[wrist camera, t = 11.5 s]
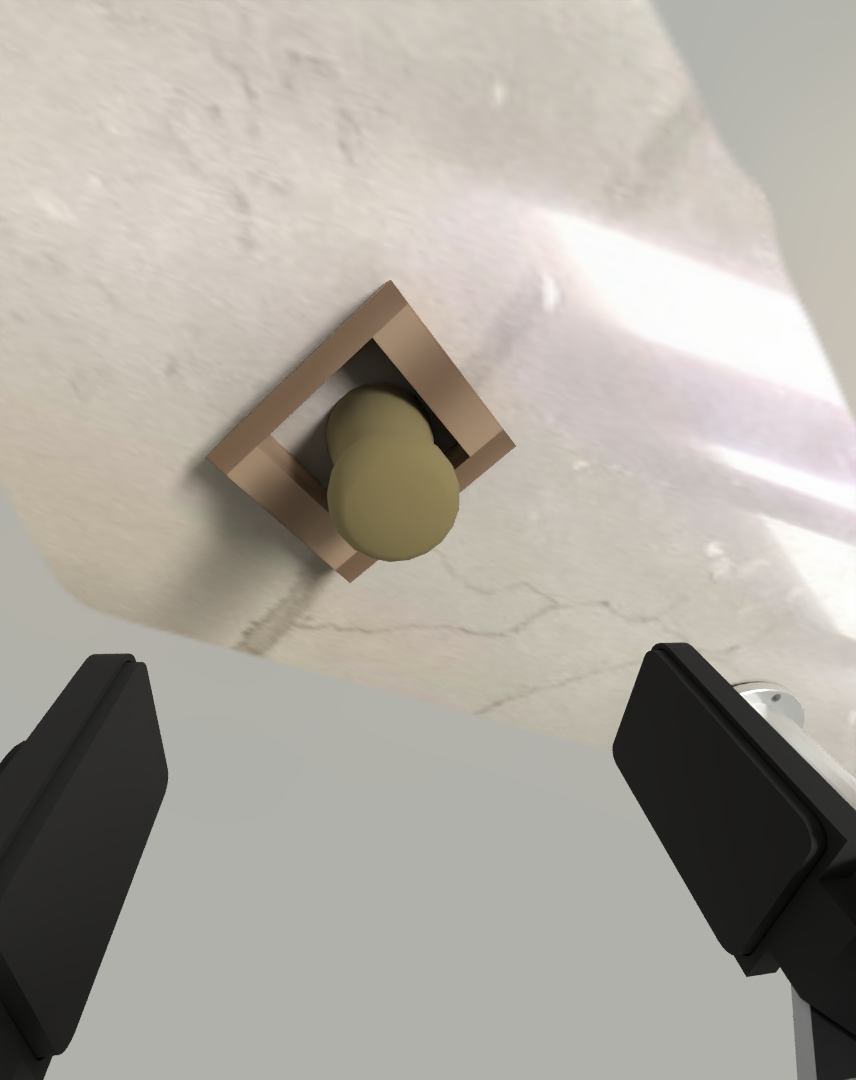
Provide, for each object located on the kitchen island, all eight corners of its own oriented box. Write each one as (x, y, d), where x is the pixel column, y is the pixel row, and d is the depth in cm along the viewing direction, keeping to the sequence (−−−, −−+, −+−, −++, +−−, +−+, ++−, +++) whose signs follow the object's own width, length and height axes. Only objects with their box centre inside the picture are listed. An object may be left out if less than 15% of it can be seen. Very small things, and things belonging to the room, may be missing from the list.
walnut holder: (500, 432, 28) (516, 445, 25) (349, 558, 30) (350, 583, 28) (386, 282, 24) (390, 279, 21) (220, 441, 26) (206, 457, 23)
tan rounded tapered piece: (323, 484, 28) (310, 583, 18) (327, 376, 25) (315, 423, 16) (425, 491, 29) (465, 588, 19) (439, 388, 26) (493, 440, 17)
